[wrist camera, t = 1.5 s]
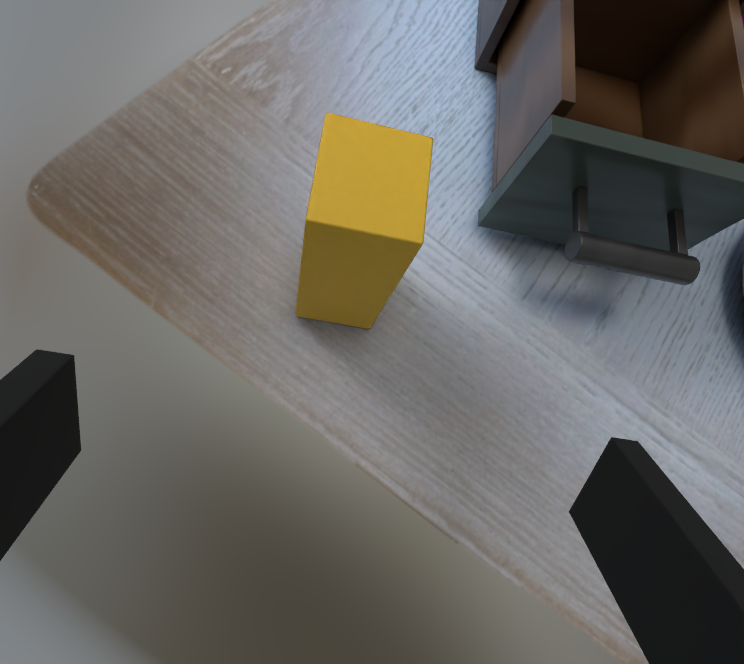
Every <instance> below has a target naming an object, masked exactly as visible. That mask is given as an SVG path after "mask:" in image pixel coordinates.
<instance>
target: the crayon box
mask: <svg viewBox="0 0 744 664" xmlns="http://www.w3.org/2000/svg"><path fill="white" fill-rule="evenodd" d="M432 145H433V138H431V137H427V136H423V135H419V134H414V133H410V132H406V131H402V130H398V129H394V128H390V127H385V126H381V125H377V124H373V123H369V122H365V121H360V120H356V119H352V118H348V117H344V116H340V115H335V114H331V113H326V114H325V119H324V124H323V130H322V135H321V140H320V146H319V151H318V156H317V162H316V167H315V172H314V178H313V183H312V188H311V194H310V199H309V204H308V210H307V215H306V221H305V230H304V239H303V249H302V258H301V267H300V276H299V285H298V294H297V303H296V312H295V316H298V317H304V318H309V319H315V320H321V321H327V322H332V323H338V324H344V325H349V326H355V327H361V328H366V329H370V328H371V326H372V324H373V323H374V321H375V320H376V318H377V316H378V315H379V313H380V312H381V310H382V308H383V307H384V305H385V304H386V302H387V300H388V299H389V297H390V296H391V294H392V292H393V291H394V289H395V288H396V286H397V284H398V283H399V281H400V280H401V278H402V276H403V275H404V273H405V272H406V270H407V268H408V267H409V265H410V264H411V262H412V260H413V259H414V257H415V256H416V254H417V252H418V251H419V249H420V248H421V246H422V244H423V240H424V230H425V219H426V209H427V198H428V188H429V177H430V167H431V156H432Z"/></svg>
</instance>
